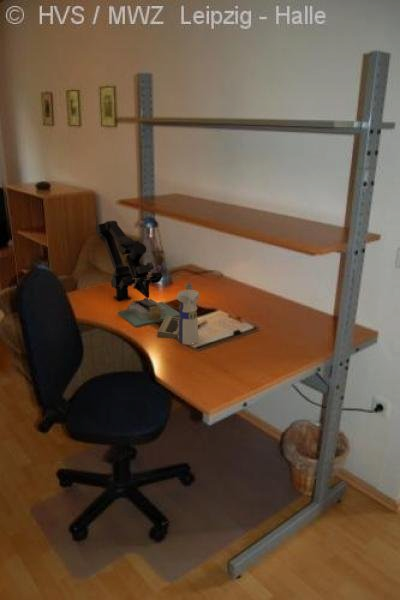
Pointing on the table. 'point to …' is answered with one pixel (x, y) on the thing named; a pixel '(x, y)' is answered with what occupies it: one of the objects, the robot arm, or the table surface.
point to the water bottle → (188, 315)
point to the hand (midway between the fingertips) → (148, 297)
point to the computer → (169, 328)
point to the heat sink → (147, 310)
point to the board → (138, 322)
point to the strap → (146, 303)
